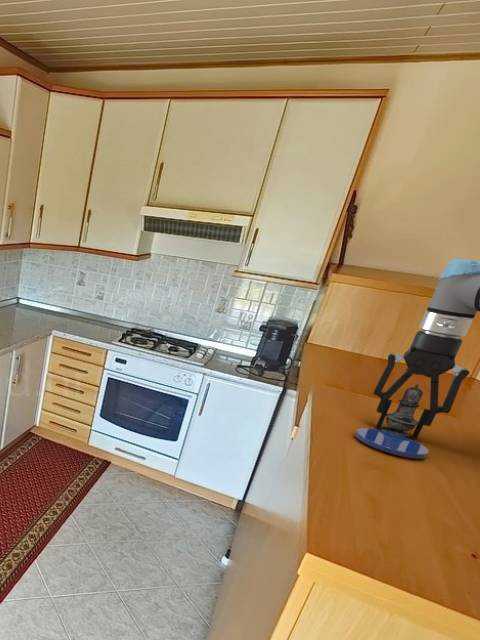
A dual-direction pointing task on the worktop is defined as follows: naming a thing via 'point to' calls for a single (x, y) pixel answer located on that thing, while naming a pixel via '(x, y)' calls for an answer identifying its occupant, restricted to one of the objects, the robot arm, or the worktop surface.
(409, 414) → the grey tall tiered piece
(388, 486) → the worktop surface
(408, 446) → the plate
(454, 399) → the robot arm
